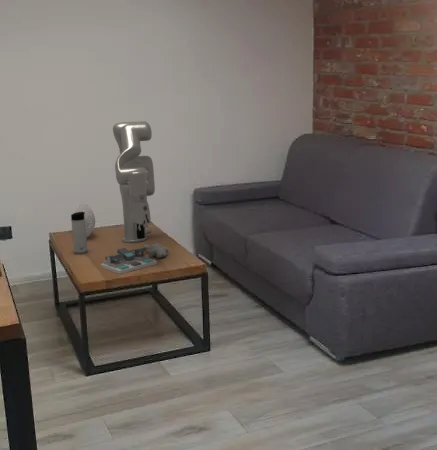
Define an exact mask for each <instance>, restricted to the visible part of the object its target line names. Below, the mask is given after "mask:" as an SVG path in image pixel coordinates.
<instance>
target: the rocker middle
mask: <svg viewBox="0 0 437 450" xmlns="http://www.w3.org/2000/svg"><path fill="white" fill-rule="evenodd" d="M116 253H117V254H122V255H123V258H125V259H126V260H131V259H135V255H134V254H132V253H131V252H130V250H129V249H127V248H126V247H123V248H118V249H117V251H116Z"/></svg>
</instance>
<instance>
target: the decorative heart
mask: <svg viewBox="0 0 437 450" xmlns="http://www.w3.org/2000/svg"><path fill="white" fill-rule="evenodd" d="M77 212H85V214H84V218H85V228H86V240H88V237H89V236H91V235H92V234H93V232H94V230H95V227H96V216H95V213H94V211H93V209H92V208H91V206H89V204H87V203H84V202H82V203H80V204H78V205H77V207H76V208H75V210H74V213H77Z"/></svg>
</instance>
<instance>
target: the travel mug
mask: <svg viewBox="0 0 437 450" xmlns="http://www.w3.org/2000/svg"><path fill="white" fill-rule="evenodd" d="M84 214H85V211H84V212H77V213H75V212H73V213H72V214H71V215H70V218H71V219H70V222H71V231H72V239H73V240H72V242H73V243H72V244H73V251H74V254H75V255H85V254H87V253H88V241H87V240H88V239H87V238H86V232H87V231H86V228H85V218H84Z"/></svg>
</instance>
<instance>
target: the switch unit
mask: <svg viewBox="0 0 437 450" xmlns="http://www.w3.org/2000/svg"><path fill="white" fill-rule="evenodd" d="M131 253H132V254H134V255H135V259H131V260H126V259H125V258H123V255H122V258H119V259H114V260H111V258H109V257H107V256H106V257H107V260H106V259H105V260H103V263H101V264H100V268H103V269H105V270H107V271H110V272H113V273H115V274H118V275H122V274H126V273H129V272H133V270H134V271H137V270H140V269H144V268H148V267H151V266H155V265H158V261H157V260H156V259H152V258H150V256H148V255H146V254H145V252H142V253H136V254H135V251H132V252H131Z"/></svg>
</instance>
